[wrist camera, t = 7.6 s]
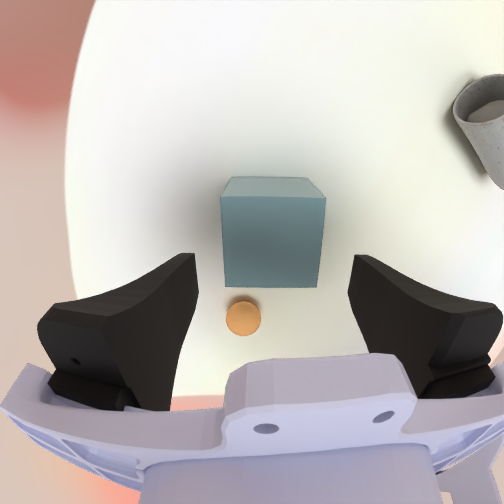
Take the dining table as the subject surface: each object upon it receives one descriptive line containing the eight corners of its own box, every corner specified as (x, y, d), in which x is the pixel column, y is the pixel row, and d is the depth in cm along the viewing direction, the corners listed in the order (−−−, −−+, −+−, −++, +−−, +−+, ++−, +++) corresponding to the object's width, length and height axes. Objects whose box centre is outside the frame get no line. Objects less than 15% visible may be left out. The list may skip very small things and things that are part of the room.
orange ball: (260, 321, 25) (260, 343, 22) (228, 320, 25) (225, 342, 22) (261, 294, 24) (261, 316, 21) (226, 294, 24) (222, 315, 21)
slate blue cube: (303, 246, 22) (316, 287, 16) (234, 245, 22) (225, 286, 16) (307, 178, 19) (326, 198, 14) (232, 176, 19) (220, 196, 14)
